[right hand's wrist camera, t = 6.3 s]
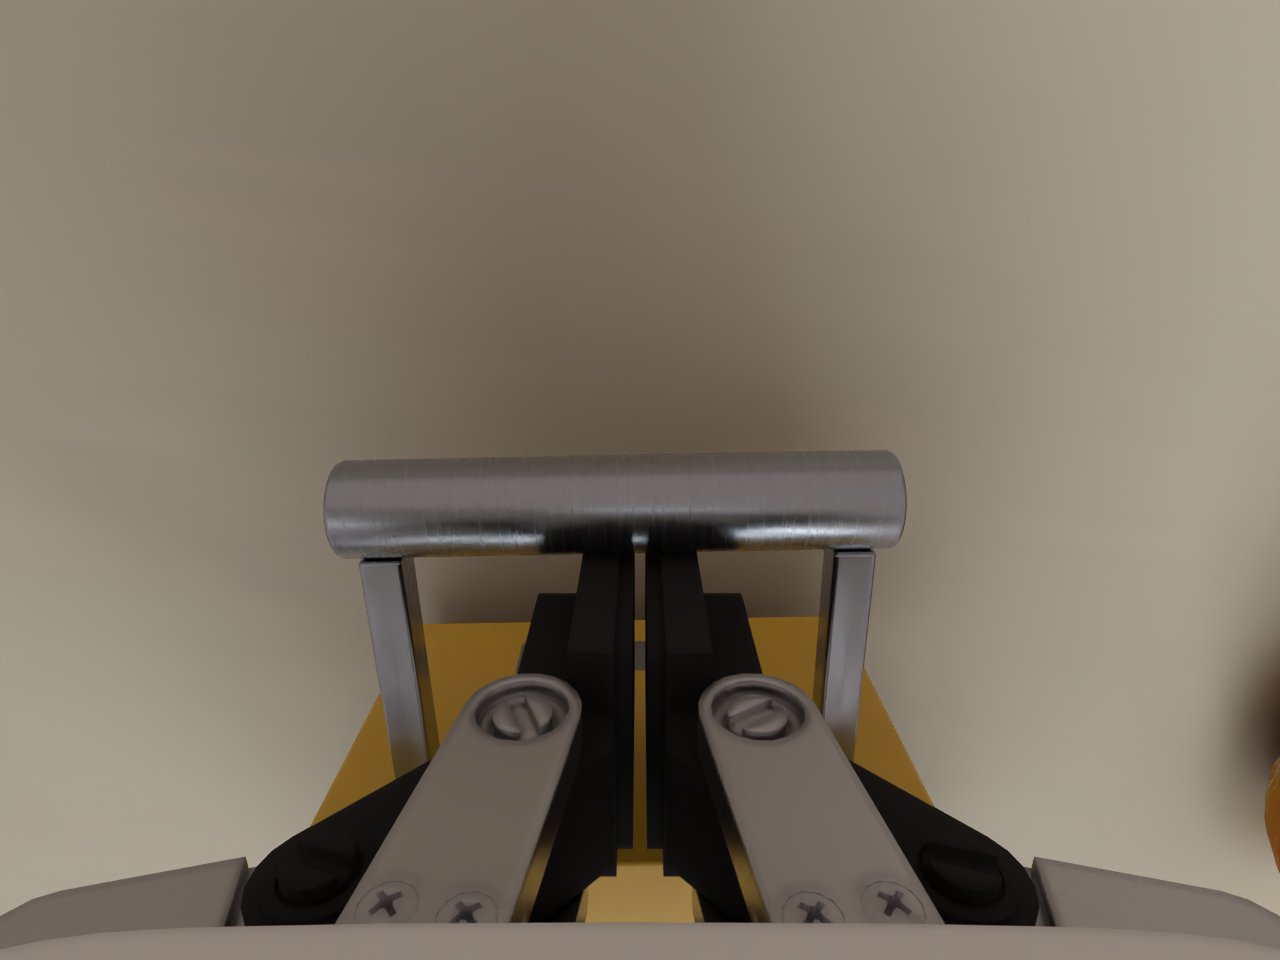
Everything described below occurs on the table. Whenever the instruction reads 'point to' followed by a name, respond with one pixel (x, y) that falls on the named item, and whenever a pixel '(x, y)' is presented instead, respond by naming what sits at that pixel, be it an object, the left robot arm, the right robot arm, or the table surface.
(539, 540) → the drawer
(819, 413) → the table surface
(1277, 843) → the fruit
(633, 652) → the right robot arm
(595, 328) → the table surface
